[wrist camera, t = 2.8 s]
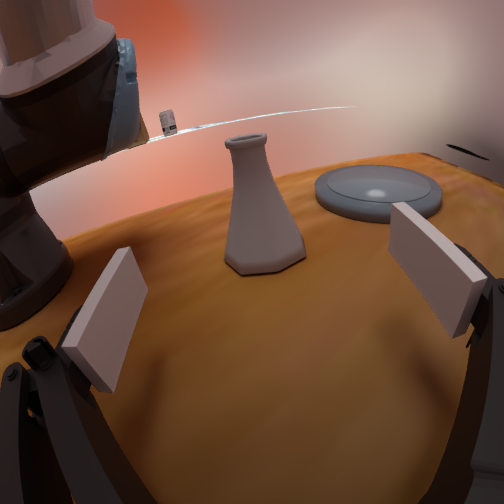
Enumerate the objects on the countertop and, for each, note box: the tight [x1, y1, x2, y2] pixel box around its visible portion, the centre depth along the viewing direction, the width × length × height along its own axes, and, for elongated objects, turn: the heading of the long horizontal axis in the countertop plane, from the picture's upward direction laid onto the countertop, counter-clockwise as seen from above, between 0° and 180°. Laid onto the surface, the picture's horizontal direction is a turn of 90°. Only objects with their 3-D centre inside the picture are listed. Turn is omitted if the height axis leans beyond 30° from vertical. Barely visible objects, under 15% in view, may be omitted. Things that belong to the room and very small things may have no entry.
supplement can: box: [159, 110, 177, 137], centre depth 148 cm, size 8×8×15 cm
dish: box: [315, 165, 442, 223], centre depth 32 cm, size 16×16×2 cm
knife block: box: [128, 113, 149, 149], centre depth 138 cm, size 11×35×31 cm, turn 15°
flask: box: [224, 133, 306, 275], centre depth 22 cm, size 7×7×10 cm
